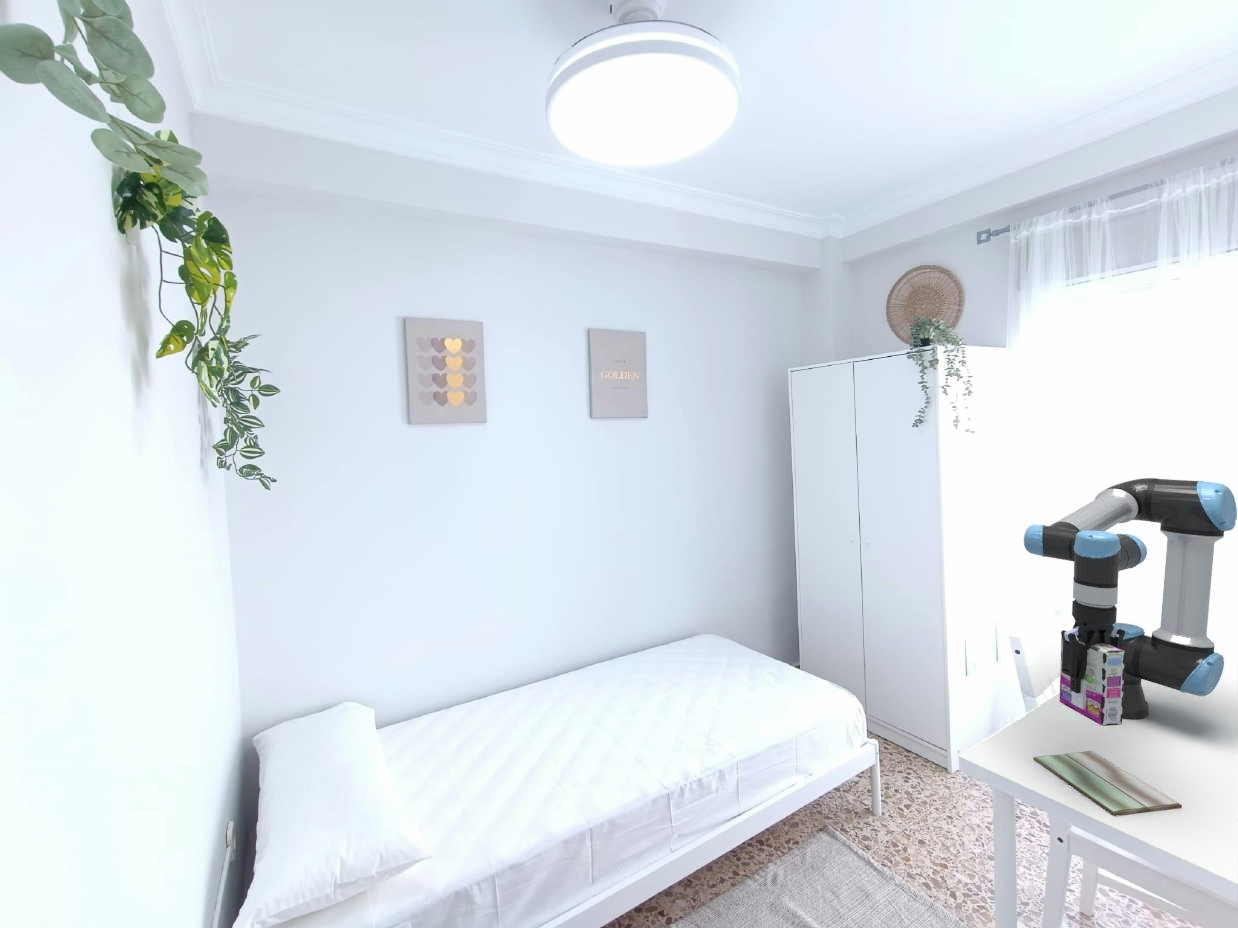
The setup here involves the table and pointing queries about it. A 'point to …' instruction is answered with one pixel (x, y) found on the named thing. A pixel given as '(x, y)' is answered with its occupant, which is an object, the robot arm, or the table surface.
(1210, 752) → the table surface
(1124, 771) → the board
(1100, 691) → the candy bar box
